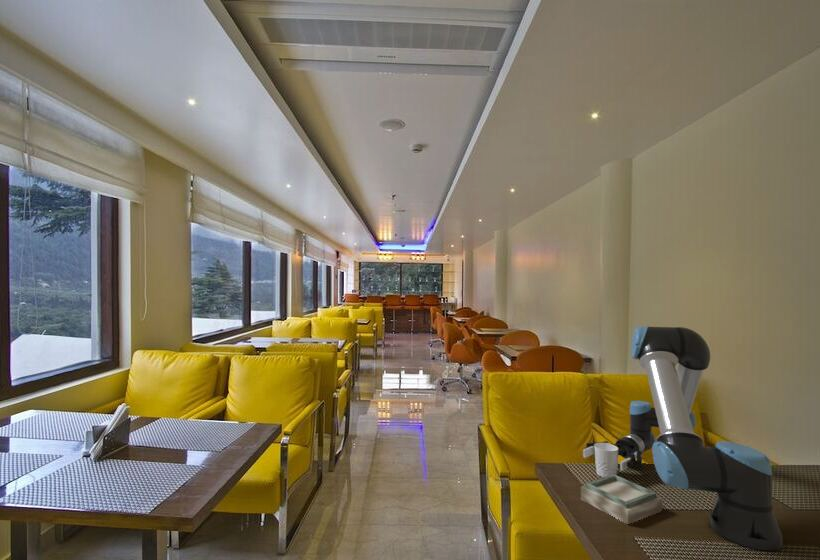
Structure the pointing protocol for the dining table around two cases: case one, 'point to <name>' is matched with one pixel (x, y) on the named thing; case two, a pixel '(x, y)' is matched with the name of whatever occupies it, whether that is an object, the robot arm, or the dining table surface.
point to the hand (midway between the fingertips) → (601, 460)
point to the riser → (621, 498)
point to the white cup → (606, 459)
